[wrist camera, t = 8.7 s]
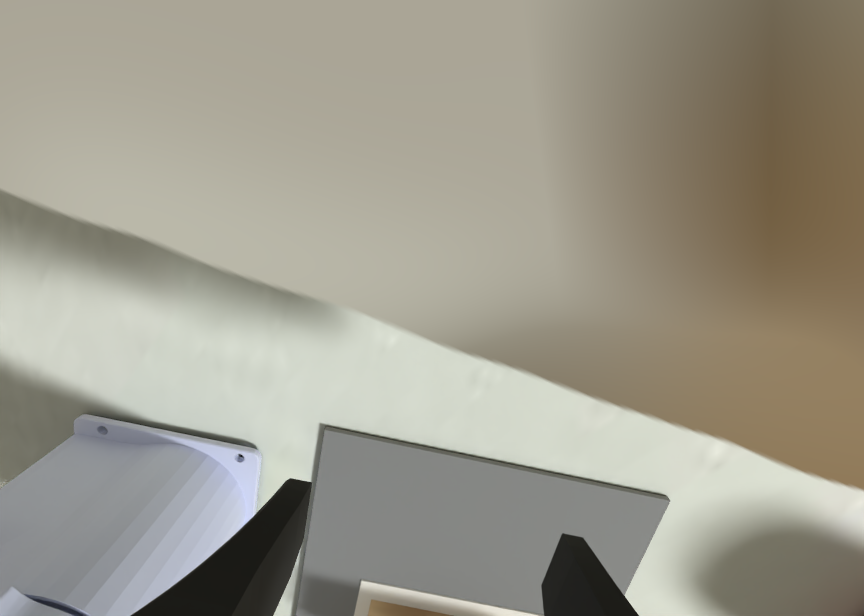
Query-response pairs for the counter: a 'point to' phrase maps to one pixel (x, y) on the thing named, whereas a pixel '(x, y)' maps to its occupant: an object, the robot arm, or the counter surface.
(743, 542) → the counter surface
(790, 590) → the counter surface
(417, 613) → the oak T-block
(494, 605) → the mat
